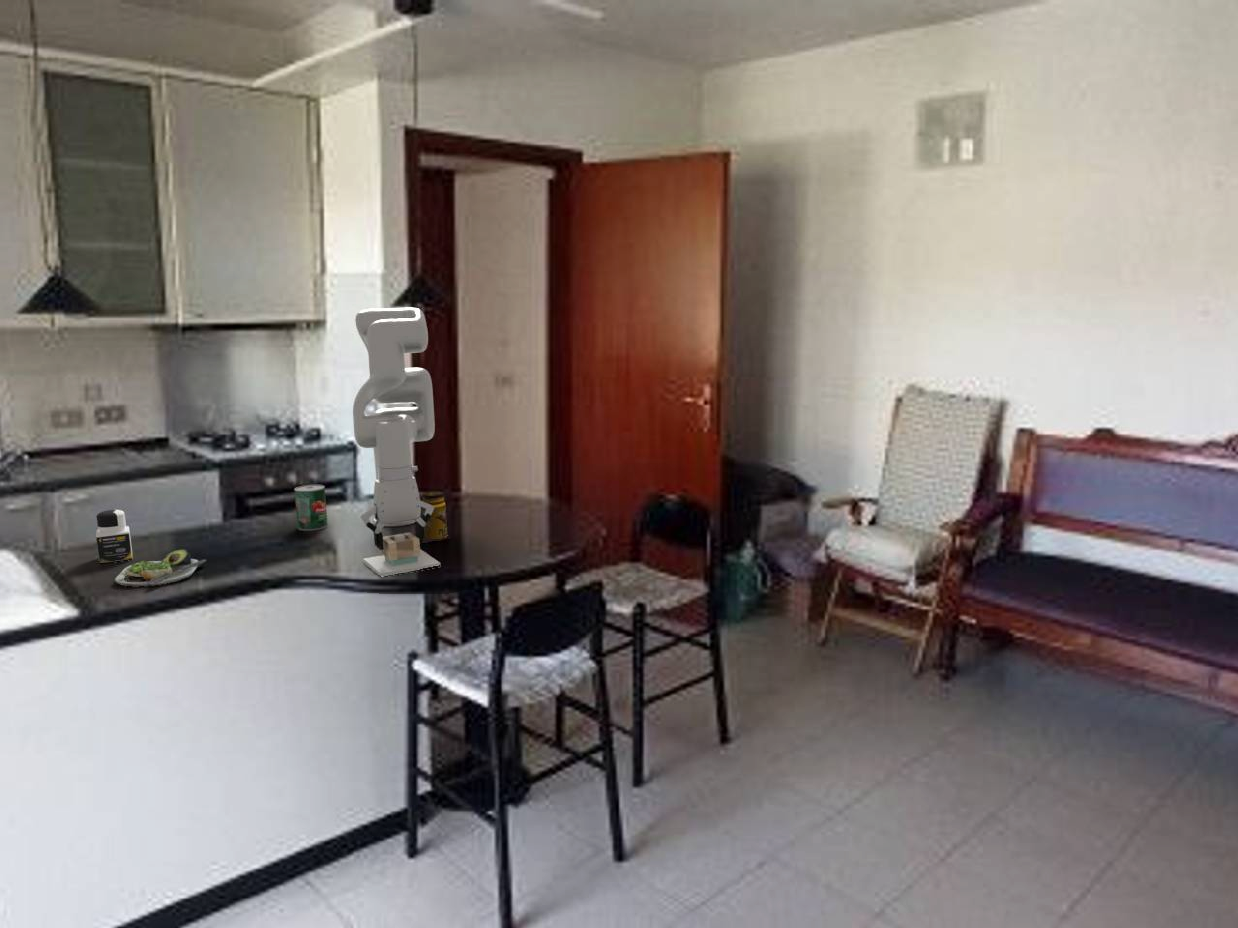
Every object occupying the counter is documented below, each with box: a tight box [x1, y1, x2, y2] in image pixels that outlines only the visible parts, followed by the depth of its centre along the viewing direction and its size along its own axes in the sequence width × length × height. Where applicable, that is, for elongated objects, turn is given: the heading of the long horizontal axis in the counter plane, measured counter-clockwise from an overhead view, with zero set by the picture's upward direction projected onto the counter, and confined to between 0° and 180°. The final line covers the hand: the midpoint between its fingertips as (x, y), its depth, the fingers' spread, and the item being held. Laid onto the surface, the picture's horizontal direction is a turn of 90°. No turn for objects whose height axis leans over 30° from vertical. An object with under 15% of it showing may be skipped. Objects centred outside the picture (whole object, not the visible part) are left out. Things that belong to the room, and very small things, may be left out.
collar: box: [381, 532, 421, 561], centre depth 219 cm, size 7×7×4 cm
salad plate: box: [114, 549, 207, 588], centre depth 215 cm, size 19×18×5 cm
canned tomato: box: [293, 484, 329, 532], centre depth 256 cm, size 8×8×11 cm
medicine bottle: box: [95, 509, 133, 562], centre depth 229 cm, size 7×7×12 cm
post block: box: [362, 534, 441, 577], centre depth 219 cm, size 14×14×7 cm
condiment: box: [421, 490, 448, 540], centre depth 241 cm, size 7×8×12 cm
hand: (400, 545), depth 219 cm, fingers open, 9 cm apart
